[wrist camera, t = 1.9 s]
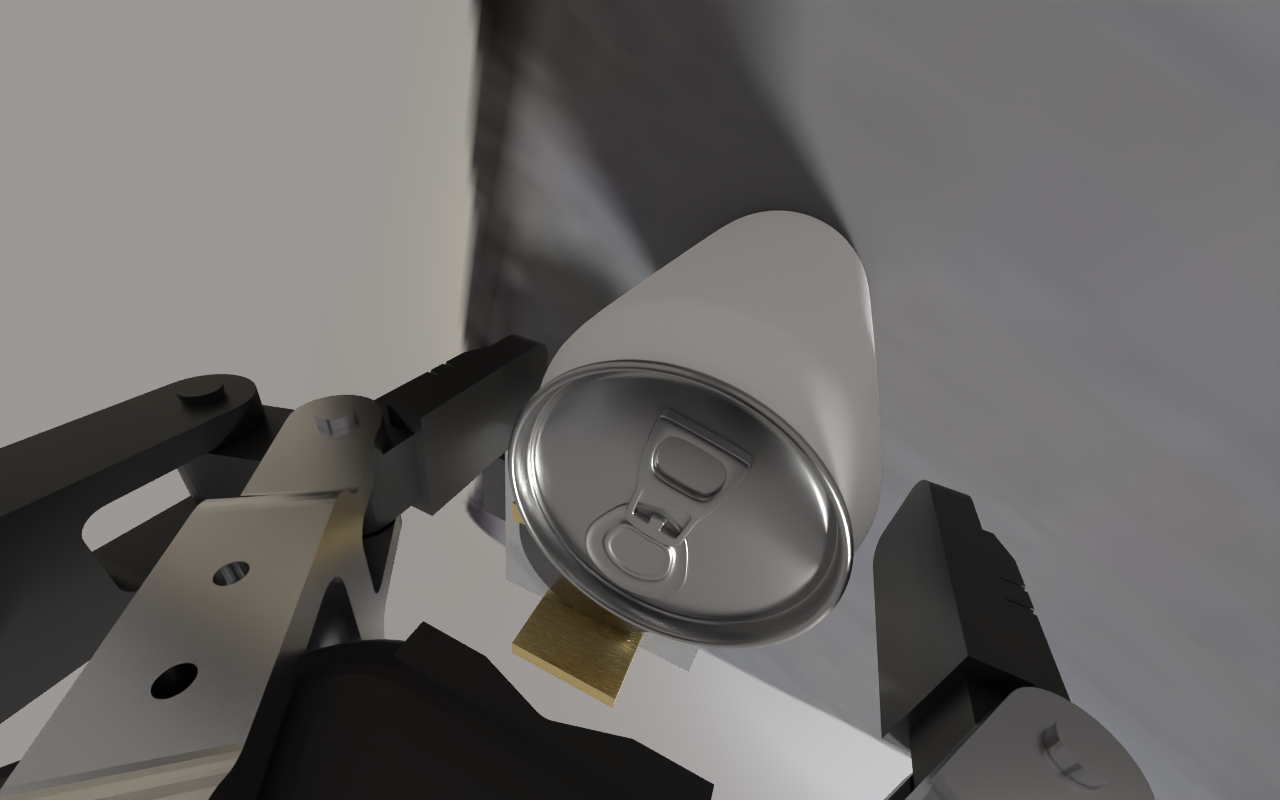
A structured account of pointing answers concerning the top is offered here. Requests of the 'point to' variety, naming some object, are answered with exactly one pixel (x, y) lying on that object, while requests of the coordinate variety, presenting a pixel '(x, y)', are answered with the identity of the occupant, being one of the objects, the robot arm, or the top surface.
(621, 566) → the can
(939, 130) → the top surface
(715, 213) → the top surface
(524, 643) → the motor housing
